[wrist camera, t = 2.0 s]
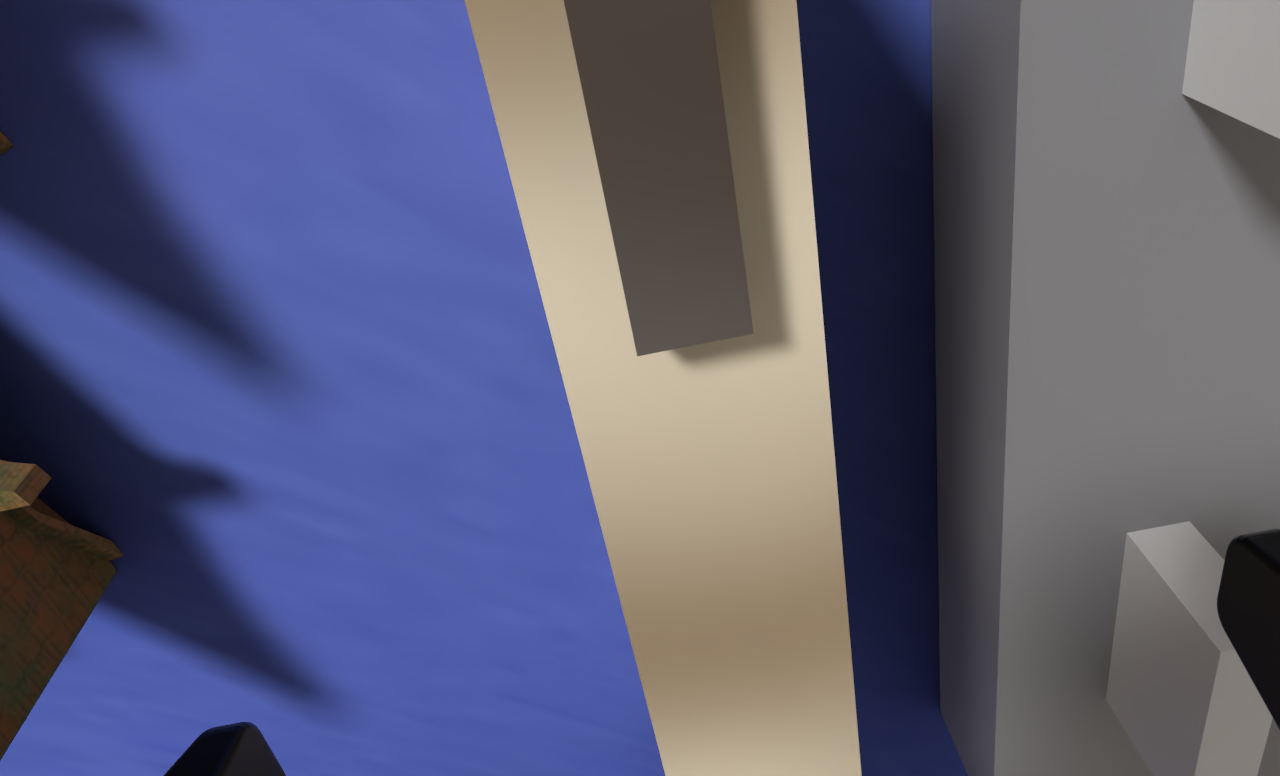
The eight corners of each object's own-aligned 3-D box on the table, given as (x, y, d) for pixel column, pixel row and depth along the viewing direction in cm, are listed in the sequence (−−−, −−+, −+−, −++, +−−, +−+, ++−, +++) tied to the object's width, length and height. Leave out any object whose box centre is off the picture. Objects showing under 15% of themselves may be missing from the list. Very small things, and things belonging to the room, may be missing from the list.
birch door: (768, 609, 20) (896, 1082, 12) (674, 627, 20) (746, 1109, 13) (629, -344, 11) (773, -605, 4) (466, -309, 11) (316, -506, 4)
